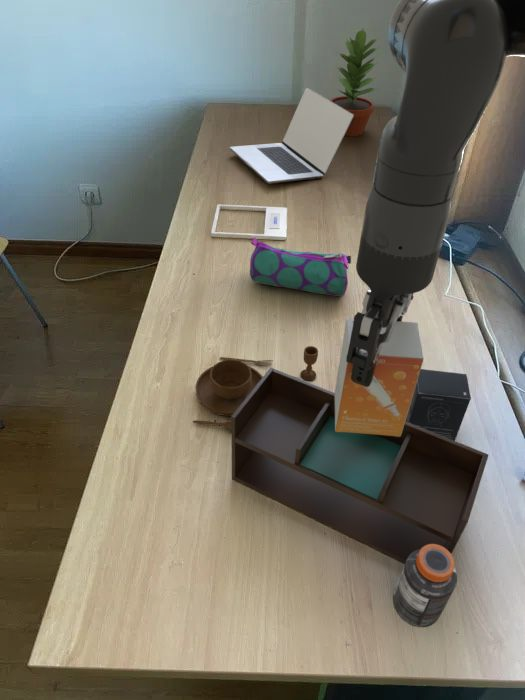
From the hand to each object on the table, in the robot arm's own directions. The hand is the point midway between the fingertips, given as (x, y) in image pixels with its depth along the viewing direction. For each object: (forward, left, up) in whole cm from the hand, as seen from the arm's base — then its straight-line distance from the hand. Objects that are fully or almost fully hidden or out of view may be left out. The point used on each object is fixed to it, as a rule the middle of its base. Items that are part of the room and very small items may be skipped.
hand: (374, 359), depth 64 cm
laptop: (+60, -98, -27) cm, 118 cm away
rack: (0, 0, -27) cm, 27 cm away
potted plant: (+54, -134, -27) cm, 147 cm away
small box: (0, 0, -10) cm, 10 cm away
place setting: (+21, -11, -27) cm, 36 cm away
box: (-7, -19, -27) cm, 34 cm away
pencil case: (+29, -44, -27) cm, 59 cm away
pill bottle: (-14, +10, -27) cm, 32 cm away
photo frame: (+51, -62, -27) cm, 85 cm away
